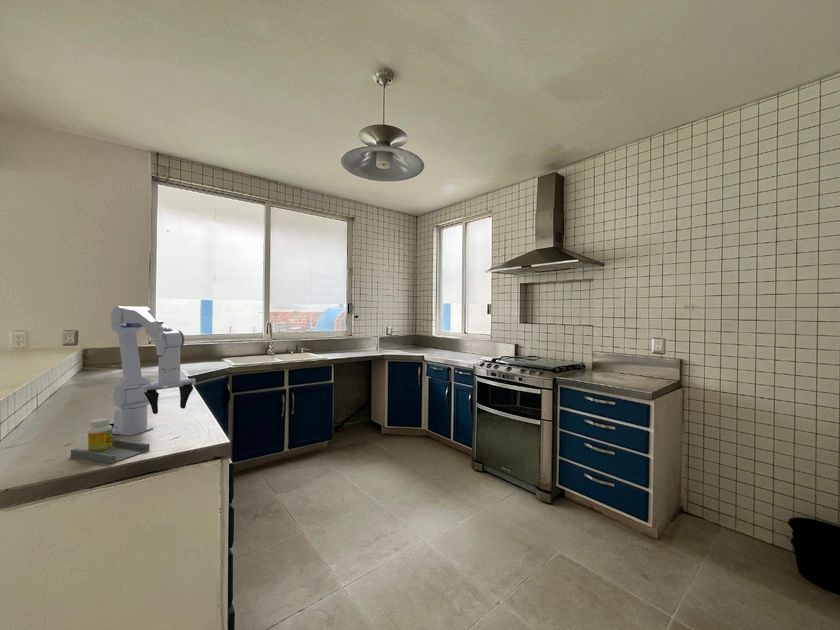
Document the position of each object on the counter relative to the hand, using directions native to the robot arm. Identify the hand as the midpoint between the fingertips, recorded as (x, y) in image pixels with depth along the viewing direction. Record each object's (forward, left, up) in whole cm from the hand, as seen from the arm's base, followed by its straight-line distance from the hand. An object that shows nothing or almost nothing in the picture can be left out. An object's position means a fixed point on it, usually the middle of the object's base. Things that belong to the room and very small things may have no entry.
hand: (169, 410), depth 112 cm
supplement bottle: (-12, -12, -10) cm, 20 cm away
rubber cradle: (-7, -12, -10) cm, 17 cm away
